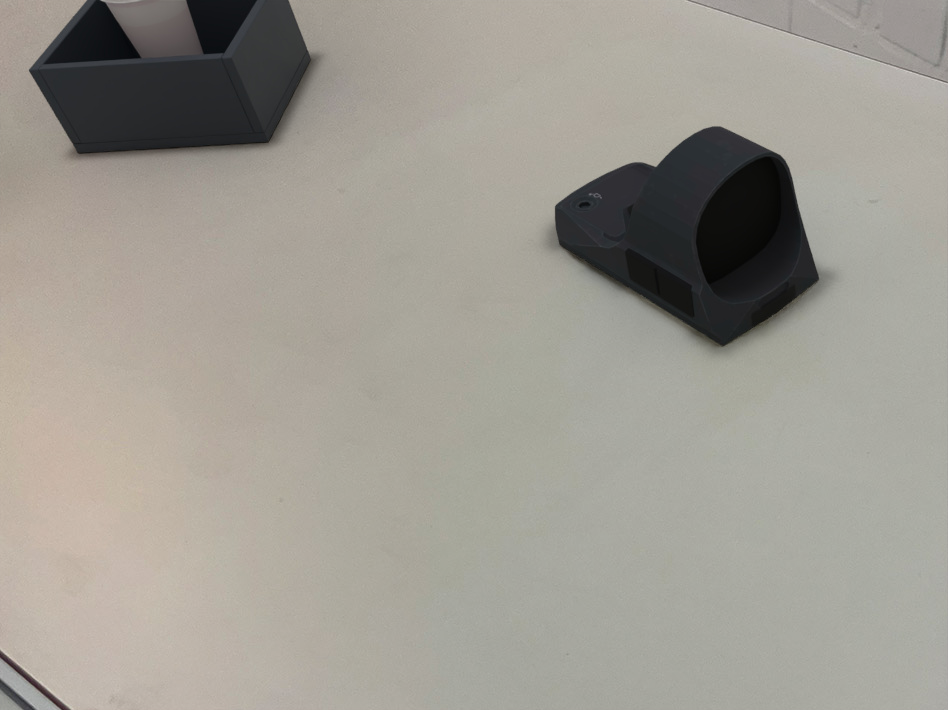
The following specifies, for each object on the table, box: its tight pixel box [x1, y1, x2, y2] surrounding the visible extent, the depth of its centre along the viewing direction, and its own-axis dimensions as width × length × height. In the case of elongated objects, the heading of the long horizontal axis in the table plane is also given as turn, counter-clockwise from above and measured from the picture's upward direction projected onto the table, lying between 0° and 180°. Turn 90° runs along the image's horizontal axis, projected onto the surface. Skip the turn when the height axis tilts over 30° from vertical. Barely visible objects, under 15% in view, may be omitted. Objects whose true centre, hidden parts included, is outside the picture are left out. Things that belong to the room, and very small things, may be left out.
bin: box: [28, 0, 312, 154], centre depth 87 cm, size 16×14×7 cm
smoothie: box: [101, 0, 203, 58], centre depth 83 cm, size 6×6×14 cm
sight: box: [554, 125, 820, 347], centre depth 68 cm, size 9×18×10 cm, turn 45°
